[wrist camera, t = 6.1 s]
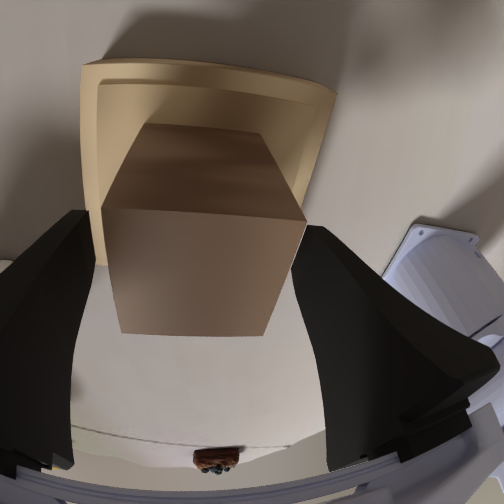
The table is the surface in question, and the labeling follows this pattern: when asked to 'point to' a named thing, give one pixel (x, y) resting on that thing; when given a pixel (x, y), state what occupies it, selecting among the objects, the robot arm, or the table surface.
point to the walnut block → (199, 232)
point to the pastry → (216, 459)
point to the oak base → (194, 116)
